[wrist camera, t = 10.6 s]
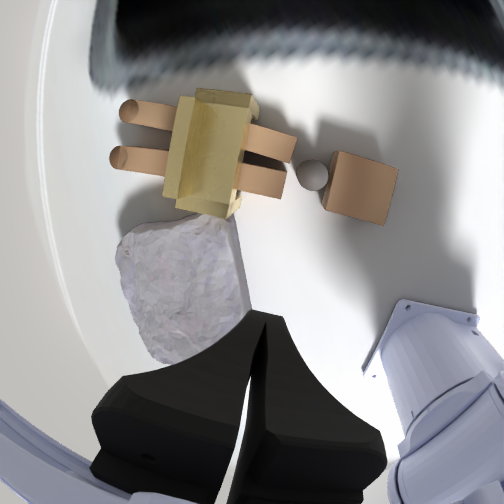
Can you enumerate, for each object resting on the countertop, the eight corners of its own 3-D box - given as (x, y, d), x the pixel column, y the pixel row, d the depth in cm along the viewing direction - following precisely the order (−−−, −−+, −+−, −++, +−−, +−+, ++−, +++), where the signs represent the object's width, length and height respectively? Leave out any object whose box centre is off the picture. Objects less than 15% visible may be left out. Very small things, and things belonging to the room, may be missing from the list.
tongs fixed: (385, 168, 17) (398, 169, 15) (373, 218, 18) (384, 226, 16) (133, 120, 18) (116, 116, 16) (126, 166, 20) (108, 167, 17)
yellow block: (260, 108, 17) (245, 84, 11) (239, 207, 19) (217, 227, 13) (216, 102, 17) (183, 78, 11) (197, 198, 19) (159, 214, 14)
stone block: (171, 339, 26) (270, 346, 23) (142, 367, 22) (251, 384, 18) (138, 218, 23) (243, 198, 20) (97, 231, 19) (212, 209, 15)
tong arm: (296, 140, 18) (297, 137, 15) (289, 163, 18) (288, 163, 16) (138, 103, 18) (122, 98, 16) (132, 123, 18) (116, 120, 16)
